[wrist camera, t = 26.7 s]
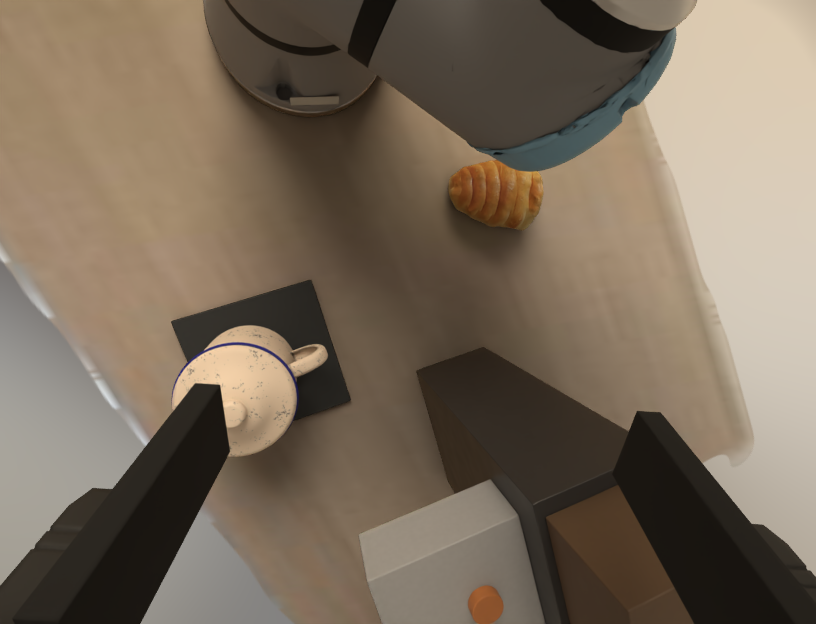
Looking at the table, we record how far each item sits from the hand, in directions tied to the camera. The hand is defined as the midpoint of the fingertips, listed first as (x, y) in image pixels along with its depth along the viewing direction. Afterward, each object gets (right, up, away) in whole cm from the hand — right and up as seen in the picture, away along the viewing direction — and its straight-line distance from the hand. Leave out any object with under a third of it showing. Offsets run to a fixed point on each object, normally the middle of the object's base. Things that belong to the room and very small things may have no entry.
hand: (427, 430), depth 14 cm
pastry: (+8, +16, +31) cm, 35 cm away
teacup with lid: (-14, -1, +27) cm, 31 cm away
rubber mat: (-14, -1, +28) cm, 31 cm away
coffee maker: (+1, -9, +33) cm, 34 cm away
